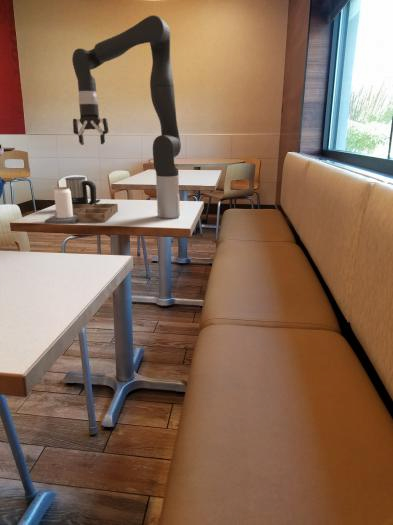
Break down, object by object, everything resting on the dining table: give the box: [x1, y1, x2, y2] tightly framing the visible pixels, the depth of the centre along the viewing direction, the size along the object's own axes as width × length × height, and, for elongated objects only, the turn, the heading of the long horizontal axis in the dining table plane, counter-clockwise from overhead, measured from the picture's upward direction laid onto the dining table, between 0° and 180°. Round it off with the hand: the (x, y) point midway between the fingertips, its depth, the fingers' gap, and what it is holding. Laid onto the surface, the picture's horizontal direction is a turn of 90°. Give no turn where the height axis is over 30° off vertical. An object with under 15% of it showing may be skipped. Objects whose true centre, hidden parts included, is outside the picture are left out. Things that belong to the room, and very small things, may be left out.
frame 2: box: [76, 208, 113, 223], centre depth 169 cm, size 11×11×4 cm
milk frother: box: [64, 176, 101, 205], centre depth 191 cm, size 14×16×15 cm
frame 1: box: [72, 204, 90, 215], centre depth 179 cm, size 11×11×4 cm
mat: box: [44, 214, 78, 224], centre depth 168 cm, size 12×12×1 cm
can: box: [53, 186, 73, 219], centre depth 166 cm, size 6×6×12 cm
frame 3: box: [87, 203, 119, 217], centre depth 180 cm, size 11×11×4 cm
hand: (92, 144), depth 173 cm, fingers open, 8 cm apart
